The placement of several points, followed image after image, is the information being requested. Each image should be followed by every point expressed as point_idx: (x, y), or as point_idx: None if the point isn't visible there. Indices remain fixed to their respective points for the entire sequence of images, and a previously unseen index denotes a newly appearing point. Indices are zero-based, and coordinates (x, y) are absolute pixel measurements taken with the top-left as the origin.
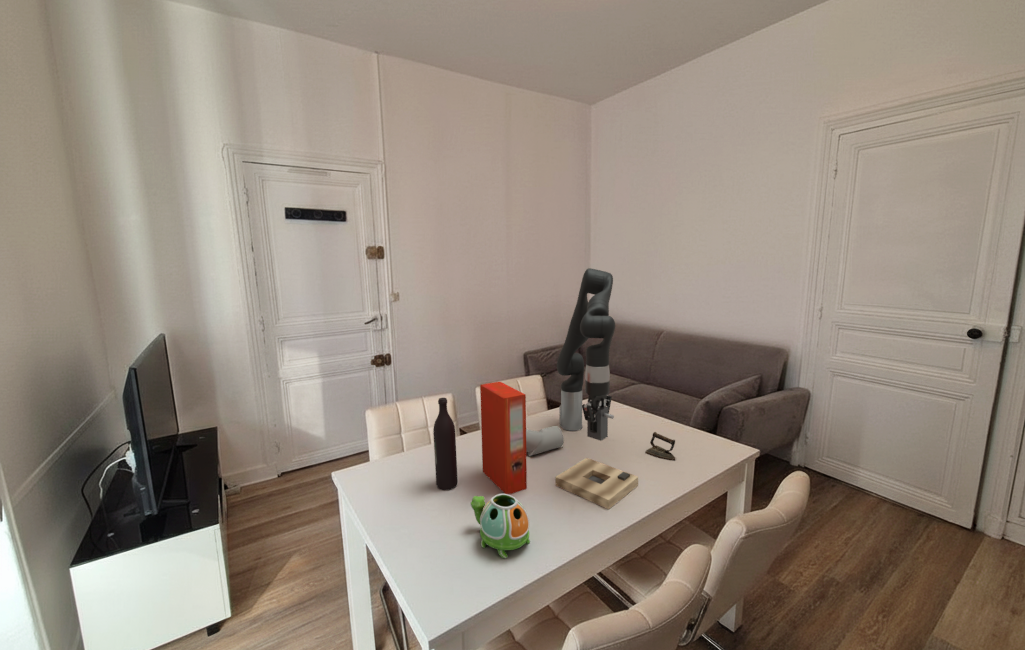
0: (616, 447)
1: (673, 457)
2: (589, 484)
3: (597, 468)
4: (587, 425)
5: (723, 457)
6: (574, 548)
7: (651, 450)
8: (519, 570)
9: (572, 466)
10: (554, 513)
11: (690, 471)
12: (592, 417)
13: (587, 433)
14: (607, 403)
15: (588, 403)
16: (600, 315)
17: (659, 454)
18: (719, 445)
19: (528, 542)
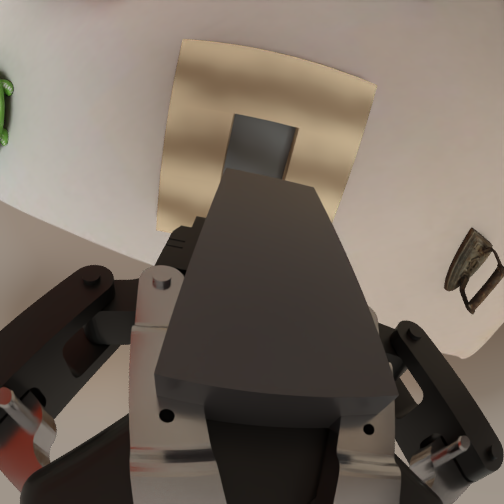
0: (487, 154)
1: (448, 289)
2: (198, 153)
3: (316, 140)
4: (213, 199)
5: (454, 340)
6: (37, 210)
7: (472, 247)
8: None
9: (287, 55)
10: (78, 120)
11: (405, 317)
12: (92, 360)
13: (223, 174)
14: (408, 441)
15: (7, 470)
16: None
17: (459, 263)
18: (488, 327)
19: (3, 145)
